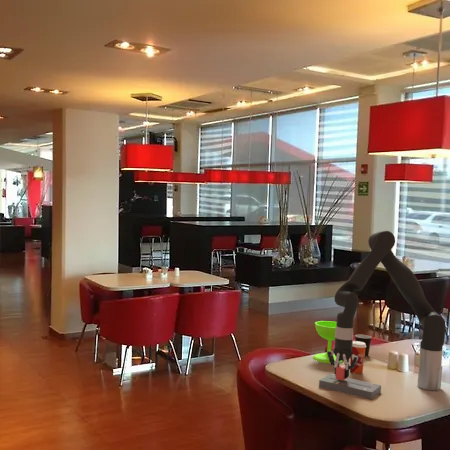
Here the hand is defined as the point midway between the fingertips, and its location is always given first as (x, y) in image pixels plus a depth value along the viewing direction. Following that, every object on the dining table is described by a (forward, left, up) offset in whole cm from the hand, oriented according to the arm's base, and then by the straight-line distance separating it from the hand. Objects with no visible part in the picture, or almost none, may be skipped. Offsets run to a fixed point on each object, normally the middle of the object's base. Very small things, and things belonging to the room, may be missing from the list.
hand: (341, 376), depth 239 cm
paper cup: (+3, -28, -5) cm, 29 cm away
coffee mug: (+12, -60, -5) cm, 61 cm away
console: (-4, 0, -5) cm, 6 cm away
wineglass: (+22, -40, -5) cm, 46 cm away
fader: (0, 0, -1) cm, 1 cm away
